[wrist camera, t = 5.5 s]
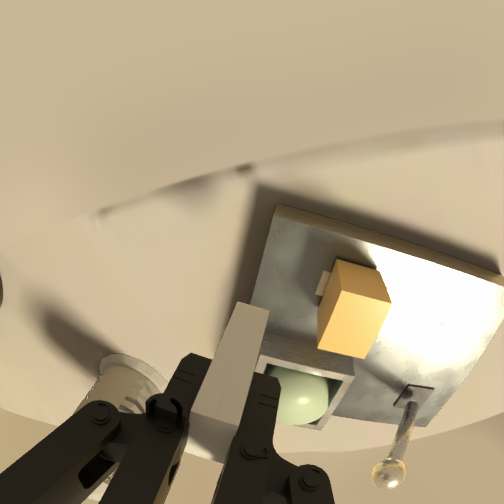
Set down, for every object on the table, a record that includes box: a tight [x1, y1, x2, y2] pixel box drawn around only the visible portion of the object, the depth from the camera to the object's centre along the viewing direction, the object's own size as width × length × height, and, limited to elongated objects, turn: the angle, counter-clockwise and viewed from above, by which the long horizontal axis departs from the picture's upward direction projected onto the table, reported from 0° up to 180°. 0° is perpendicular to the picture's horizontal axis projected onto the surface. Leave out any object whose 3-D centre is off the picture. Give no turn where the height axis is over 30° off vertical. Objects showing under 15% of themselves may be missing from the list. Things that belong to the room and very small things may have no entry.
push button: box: [265, 364, 328, 425], centre depth 23 cm, size 5×5×3 cm
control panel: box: [250, 204, 504, 431], centre depth 23 cm, size 20×16×6 cm
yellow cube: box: [317, 259, 393, 359], centre depth 19 cm, size 3×4×4 cm
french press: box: [73, 354, 168, 501], centre depth 22 cm, size 10×12×25 cm
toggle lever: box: [371, 400, 419, 490], centre depth 19 cm, size 2×2×10 cm
